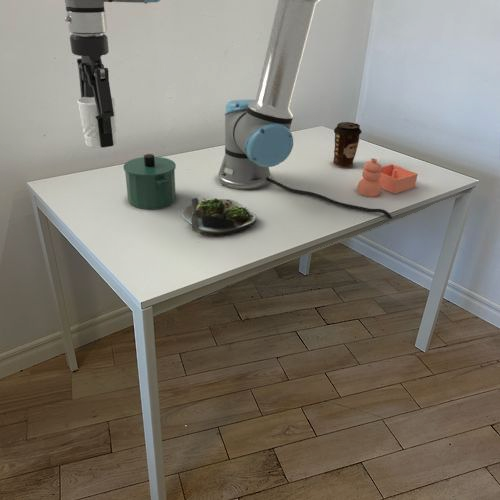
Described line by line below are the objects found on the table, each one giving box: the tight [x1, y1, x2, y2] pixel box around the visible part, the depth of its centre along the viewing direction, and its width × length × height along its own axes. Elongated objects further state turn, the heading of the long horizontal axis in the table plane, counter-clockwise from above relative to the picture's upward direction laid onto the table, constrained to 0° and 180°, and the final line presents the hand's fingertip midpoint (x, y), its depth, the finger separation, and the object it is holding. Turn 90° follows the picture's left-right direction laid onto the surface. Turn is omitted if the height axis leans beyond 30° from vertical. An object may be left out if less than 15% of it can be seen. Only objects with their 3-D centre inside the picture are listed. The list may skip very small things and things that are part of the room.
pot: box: [124, 170, 177, 210], centre depth 132 cm, size 12×18×9 cm
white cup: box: [76, 96, 117, 149], centre depth 113 cm, size 8×8×10 cm
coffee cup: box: [332, 121, 362, 169], centre depth 158 cm, size 9×8×13 cm
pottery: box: [357, 158, 419, 198], centre depth 143 cm, size 18×10×10 cm, turn 126°
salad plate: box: [181, 197, 257, 238], centre depth 124 cm, size 19×18×5 cm
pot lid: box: [123, 153, 177, 177], centre depth 129 cm, size 13×13×4 cm
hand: (101, 140), depth 115 cm, fingers closed on white cup, 8 cm apart
